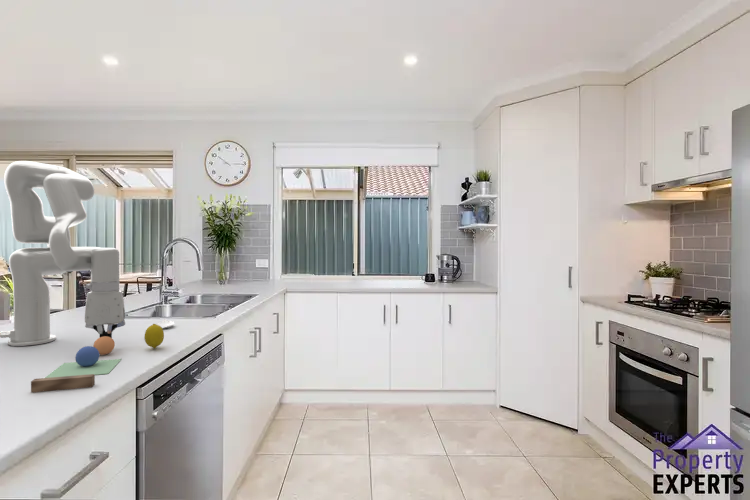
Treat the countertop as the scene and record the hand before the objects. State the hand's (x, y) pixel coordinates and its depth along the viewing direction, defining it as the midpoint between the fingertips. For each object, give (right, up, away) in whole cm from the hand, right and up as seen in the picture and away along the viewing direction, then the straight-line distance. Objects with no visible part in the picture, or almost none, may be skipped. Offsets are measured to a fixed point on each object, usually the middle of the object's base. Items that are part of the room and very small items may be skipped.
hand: (105, 345), depth 134 cm
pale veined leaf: (+1, -1, +35) cm, 35 cm away
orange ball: (+3, +1, -5) cm, 6 cm away
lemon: (+14, -2, +3) cm, 14 cm away
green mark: (+6, -2, -19) cm, 20 cm away
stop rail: (+12, -2, -34) cm, 36 cm away
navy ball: (+6, +1, -17) cm, 18 cm away
